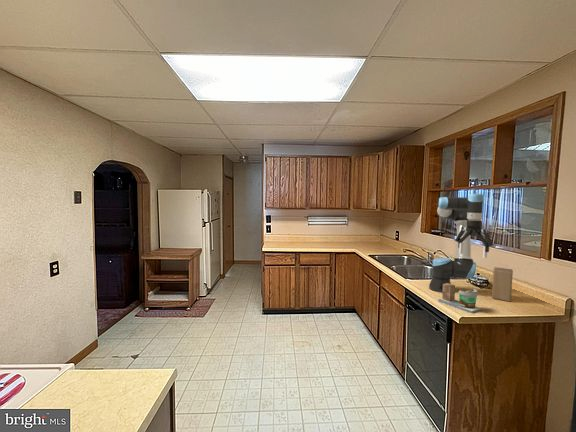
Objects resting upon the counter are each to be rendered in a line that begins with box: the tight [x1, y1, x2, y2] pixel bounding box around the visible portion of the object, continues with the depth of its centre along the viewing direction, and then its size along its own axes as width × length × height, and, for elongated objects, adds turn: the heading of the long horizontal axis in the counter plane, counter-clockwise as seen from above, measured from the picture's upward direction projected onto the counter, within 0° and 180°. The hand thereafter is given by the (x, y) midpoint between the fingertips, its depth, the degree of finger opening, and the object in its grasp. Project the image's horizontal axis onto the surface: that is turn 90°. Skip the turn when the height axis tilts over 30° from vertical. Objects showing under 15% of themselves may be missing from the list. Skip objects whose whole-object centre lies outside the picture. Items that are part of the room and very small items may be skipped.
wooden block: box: [491, 266, 513, 303], centre depth 187 cm, size 10×10×20 cm
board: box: [437, 298, 482, 314], centre depth 173 cm, size 21×10×1 cm, turn 27°
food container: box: [458, 288, 479, 309], centre depth 167 cm, size 12×6×10 cm, turn 107°
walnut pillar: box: [441, 283, 456, 302], centre depth 179 cm, size 5×5×10 cm
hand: (472, 255), depth 166 cm, fingers open, 13 cm apart
